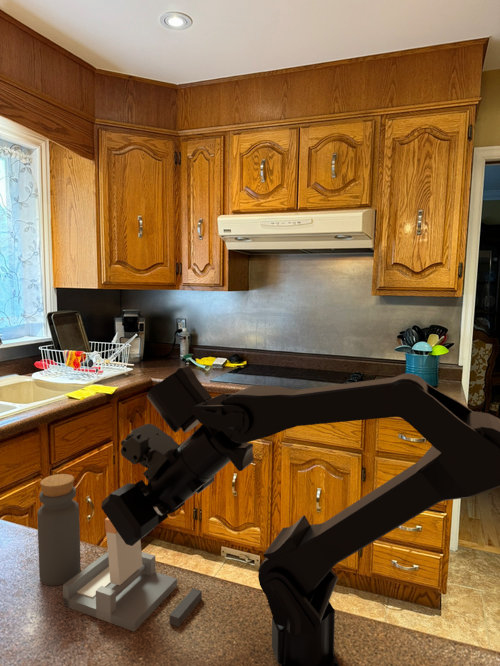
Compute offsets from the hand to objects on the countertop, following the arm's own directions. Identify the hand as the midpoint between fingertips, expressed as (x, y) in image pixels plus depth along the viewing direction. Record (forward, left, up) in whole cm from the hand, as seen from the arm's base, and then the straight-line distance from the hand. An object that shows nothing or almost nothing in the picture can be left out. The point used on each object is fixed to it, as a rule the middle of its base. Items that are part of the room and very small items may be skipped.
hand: (129, 522), depth 64 cm
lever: (0, 0, -9) cm, 9 cm away
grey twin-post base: (0, 0, -11) cm, 11 cm away
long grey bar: (-7, +4, -11) cm, 14 cm away
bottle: (+11, -8, -11) cm, 18 cm away
